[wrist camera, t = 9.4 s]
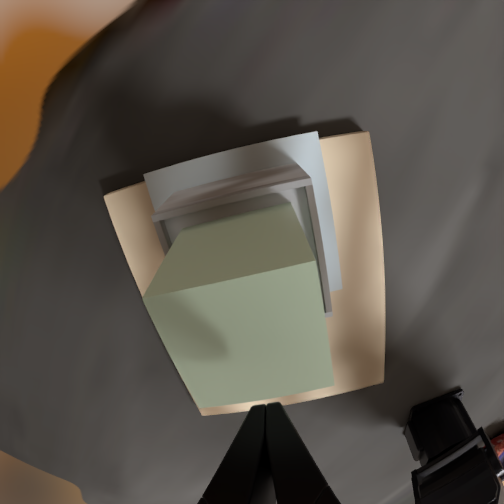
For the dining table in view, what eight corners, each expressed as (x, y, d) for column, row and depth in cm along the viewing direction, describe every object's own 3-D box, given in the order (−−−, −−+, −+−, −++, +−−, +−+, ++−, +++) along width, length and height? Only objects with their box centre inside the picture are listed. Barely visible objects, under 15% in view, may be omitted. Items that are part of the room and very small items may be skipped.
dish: (460, 490, 44) (466, 506, 40) (458, 450, 34) (468, 474, 29) (516, 455, 41) (523, 470, 37) (535, 397, 31) (548, 417, 26)
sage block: (290, 202, 14) (315, 260, 8) (310, 297, 16) (334, 385, 10) (181, 228, 14) (141, 298, 9) (213, 318, 16) (199, 408, 11)
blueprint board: (361, 122, 17) (403, 127, 12) (380, 374, 25) (400, 423, 20) (107, 185, 19) (61, 211, 13) (203, 407, 27) (196, 458, 21)
